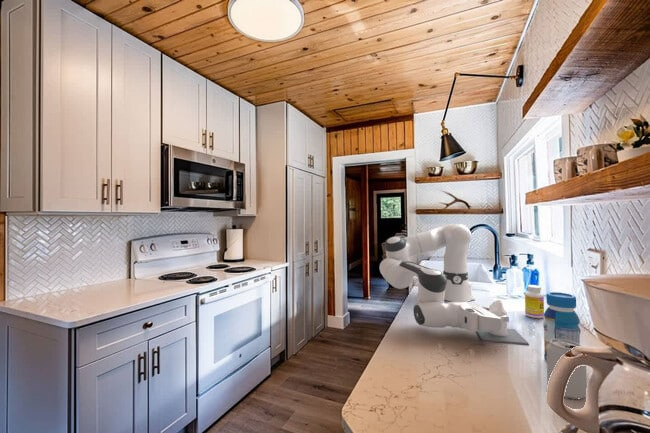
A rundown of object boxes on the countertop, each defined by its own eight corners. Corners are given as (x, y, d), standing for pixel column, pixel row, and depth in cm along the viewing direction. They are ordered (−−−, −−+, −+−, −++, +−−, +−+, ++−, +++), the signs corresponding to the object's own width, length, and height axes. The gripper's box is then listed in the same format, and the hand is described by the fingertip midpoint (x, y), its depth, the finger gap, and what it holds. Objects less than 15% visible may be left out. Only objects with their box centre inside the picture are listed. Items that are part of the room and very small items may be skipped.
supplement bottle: (541, 319, 124) (541, 288, 124) (523, 316, 129) (522, 286, 129) (546, 316, 129) (545, 286, 129) (527, 312, 134) (527, 283, 134)
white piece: (484, 299, 110) (494, 297, 113) (485, 331, 110) (494, 329, 113) (501, 302, 105) (510, 300, 108) (501, 337, 105) (510, 334, 108)
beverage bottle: (573, 374, 81) (572, 300, 81) (538, 361, 88) (537, 293, 89) (586, 366, 86) (585, 295, 86) (551, 354, 93) (551, 289, 93)
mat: (473, 327, 116) (473, 326, 116) (514, 330, 113) (514, 329, 113) (482, 340, 104) (482, 339, 104) (528, 344, 100) (528, 343, 100)
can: (575, 405, 68) (574, 351, 68) (540, 388, 75) (539, 339, 75) (593, 396, 71) (593, 345, 71) (558, 381, 78) (558, 334, 78)
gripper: (449, 314, 118) (484, 313, 119) (475, 334, 98) (517, 333, 98) (449, 297, 118) (484, 297, 119) (475, 314, 98) (517, 314, 98)
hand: (499, 314), depth 108 cm, fingers open, 8 cm apart
